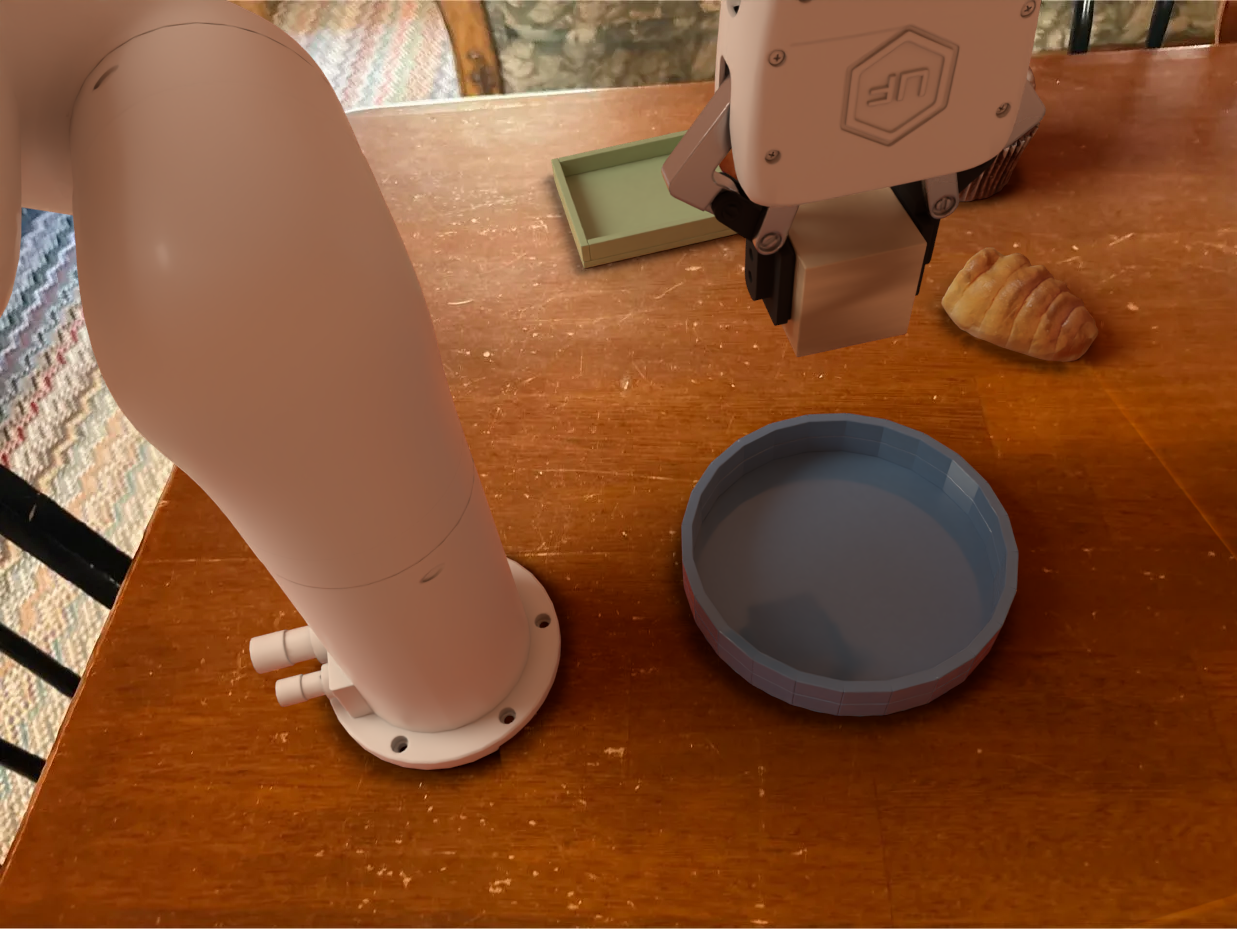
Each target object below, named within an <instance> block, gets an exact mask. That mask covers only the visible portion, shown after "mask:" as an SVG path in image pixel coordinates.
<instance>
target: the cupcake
mask: <svg viewBox="0 0 1237 929" xmlns="http://www.w3.org/2000/svg"><path fill="white" fill-rule="evenodd" d="M1027 79H1028V81H1029V82H1030V84H1031V85H1032V87H1033V88H1034V90H1035V91H1036V87H1037V84H1036V79H1035V75H1034V72H1033V70H1032V68H1031V66H1030V65H1029V69H1028V74H1027ZM1040 125H1041V122H1039V123H1038V124H1036V125H1035V126H1034V127H1033V128H1031V129H1030V130H1029V131H1028V132H1026V133H1025V134H1024V135H1022V136H1021V137H1020V138H1019V139H1017V140H1016V141H1015V142H1014V143H1012V144H1011V145H1010V146H1008V147H1007V148H1006V149H1005V150H1004V149H1002V151H1001V152H1000V153H999V154H998V155H997V158H996V159H995V161H994V162H993V163H992V165H991V166H989V167H988V168H987V169H986V170H985V171H984V172H983V173H982V174H980V175H979V176H978V177H977V178H976V179H975V180H974V181H973V182H972V183H970V184H969V185H968V186H967V187H966V188H965V189H964V190H963V191H961V192H960V193H959V202H972V201H975V200H982V199H988V198H990V197H992V196H994V195H996V194H997V193H999V192H1002V190H1003V188H1004V187H1005V186H1006V185H1008V184H1009V181H1010V179H1011V176H1012V174H1013V171H1014V170H1015V167H1016V166H1017V164H1018V162H1019V160H1020V159H1021V156H1022V154H1023V153H1024V151H1025V150H1026V148H1027V147H1028V146H1029V143H1030V142H1031V141H1032V139H1033V137H1034V136H1035V134H1036V133H1037V131H1038V129H1039V128H1040V127H1039V126H1040Z"/></svg>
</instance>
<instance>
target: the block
mask: <svg viewBox="0 0 1237 929" xmlns="http://www.w3.org/2000/svg"><path fill="white" fill-rule="evenodd" d="M788 238H789V240H790V242H791V244H792V246H793V248H794V250H795V254H796V264H795V275H794V287H793V298H792V309H791V319H790V320H788V323H787V324H782V325H781V327H782V330H783V331H784V333H785V336H786V338H787V340H788V342H789V344H790V346H791V348H792V351H793V352H794V355H795V357H796V358H802V357H805V356H806V357H807V356H810V355H815V354H820V353H825V352H828V351H833V350H838V349H843V348H847V347H853V346H857V345H861V344H862V345H863V344H866V343H870V342H871V343H872V342H875V341H881V340H884V339H889V338H893V337H898V336H903V335H906V334H908V329H909V325H910V321H911V316H912V311H913V307H914V304H915V300H916V296H915V295H916V290H917V286H918V281H919V277H920V272H921V268H922V264H923V259H924V255H925V250H926V246H927V242H926V241H925V239H924V238H923V236H922V235H921V233H920V232H919V230H918V229H917V227H916V226H915V224H914V223H913V221H912V220H911V218H910V217H909V215H908V214H907V212H906V211H905V209H904V208H903V206H902V204H901V203H900V201H899V200H898V198H897V197H896V195H895V194H894V192H893V191H892V189H891V188H890V187H887V188H882V189H877V190H872V191H867V192H862V193H858V194H853V195H848V196H843V197H838V198H833V199H828V200H823V201H818V202H813V203H808V204H802V205H800V206H799V208H798V211H797V213H796V216H795V218H794V221H793V223H792V226H791V228H790V230H789V233H788Z"/></svg>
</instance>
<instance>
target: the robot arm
mask: <svg viewBox="0 0 1237 929" xmlns="http://www.w3.org/2000/svg"><path fill="white" fill-rule="evenodd" d="M1041 4H1042V0H720V7H719V19H718V28H717V29H718V30H717V42H716V56H715V70H714V93H713V95H712V96H711V97H710V99H709V101H708V102H707V103H706V105H705V106H704V107H703V108H702V110H701V111H700V113H698V114H699V115H698V116H697V117H696V118H695V119H694V121H693V122H692V124H691V125H690V127H689V128H688V129H687V130H688V131H687V132H686V133H685V135H684V136H683V138H682V139H681V140H680V142H679V143H678V144H677V146H676V147H675V149H674V150H673V151H672V153H671V154H670V155H669V157H668V158H667V159H666V161H665V162H664V164H663V166H662V168H661V173H662V176H663V178H664V181H665V183H666V185H667V188H668V190H669V193H670V195H671V196H673V197H674V198H676V199H678V200H680V201H682V202H684V203H686V204H688V205H691V206H693V207H695V208H697V209H699V210H701V211H703V212H704V211H707V212H709V213H711V214H713V215H715V218H716V219H717V220H718V221H719V222H720V223H722V224H724V225H725V226H727V227H728V228H730V229H731V230H733V231H735V232H736V233H738V235H739V236H741V237H743V239H745V249H744V250H745V251H744V252H745V253H744V281H745V285H746V289H747V291H748V294H749V296H750V298H751V300H752V301H753V302H756V301H762V303H763V305H764V307H765V309H766V311H767V313H768V315H769V318H770V320H771V322H772V324H773V326H774V327H777V326H782V324H787V323H788V320H790V319H791V309H792V298H793V287H794V275H795V264H796V254H795V250H794V248H793V246H792V244H791V242H790V240H789V238H788V233H789V230H790V228H791V226H792V223H793V221H794V218H795V216H796V213H797V211H798V208H799V206H800V205H802V204H808V203H813V202H818V201H823V200H828V199H833V198H838V197H843V196H848V195H853V194H858V193H862V192H867V191H872V190H877V189H882V188H887V187H890V188H891V189H892V191H893V192H894V194H895V195H896V197H897V198H898V200H899V201H900V203H901V204H902V206H903V208H904V209H905V211H906V212H907V214H908V215H909V217H910V218H911V220H912V221H913V223H914V224H915V226H916V227H917V229H918V230H919V232H920V233H921V235H922V236H923V238H924V239H925V241H926V242H927V246H926V250H925V255H924V259H923V264H922V268H921V272H920V277H919V281H918V286H917V290H916V295H915V297H916V296H919V294H920V291H921V286H922V282H923V278H924V274H925V268H926V265H929V264H930V263H931V261H932V258H933V253H934V249H935V246H936V245H935V244H936V242H937V241H936V240H937V236H938V232H939V228H940V224H941V219H946V218H948V217H949V216H950V215H952V214H953V213H954V212H955V211H956V210H957V209H958V206H959V205H960V201H959V193H960V192H961V191H963V190H964V189H965V188H966V187H967V186H968V185H969V184H970V183H972V182H973V181H974V180H975V179H976V178H977V177H978V176H979V175H980V174H982V173H983V172H984V171H985V170H986V169H987V168H988V167H989V166H991V165H992V163H993V162H994V161H995V159H996V158H997V155H998V154H999V153H1000V152H1001V151H1002V149H1004V150H1005V149H1006V148H1007V147H1008V146H1010V145H1011V144H1012V143H1014V142H1015V141H1016V140H1017V139H1019V138H1020V137H1021V136H1022V135H1024V134H1025V133H1026V132H1028V131H1029V130H1030V129H1031V128H1033V127H1034V126H1035V125H1036V124H1038V123H1041V121H1043V119H1044V117H1045V115H1046V111H1047V109H1046V106H1045V104H1044V102H1043V100H1042V99H1041V98H1040V96H1039V95H1038V93H1037V91H1036V89H1035V90H1034V88H1033V87H1032V85H1031V84H1030V82H1029V81H1028V79H1027V74H1028V69H1029V66H1030V65H1031V64H1030V63H1031V59H1032V54H1033V50H1034V45H1035V40H1036V33H1037V29H1038V28H1037V27H1038V22H1039V16H1040V12H1041ZM730 151H731V152H732V159H733V166H734V170H735V171H734V172H735V175H736V178H735V177H734V176H733V175H731V174H730V173H727V172H725V171H722V172H716V171H715V170H716V168H717V167H718V165H719V166H720V164H721V162H723V160H724V159H725V158H726V157H727V156H728V154H729V153H730ZM22 208H23V209H30V210H36V211H42V212H48V213H54V214H55V213H56V214H62V215H66V216H67V215H68V216H72V220H73V222H72V223H73V231H74V243H75V257H76V258H75V260H76V272H77V282H78V290H79V297H80V302H81V303H80V304H81V308H82V314H83V319H84V323H85V327H86V331H87V335H88V339H89V343H90V347H91V349H92V352H93V356H94V358H95V361H96V364H97V367H98V368H99V369H98V370H99V372H100V374H101V377H102V379H103V381H104V384H105V385H106V387H107V389H108V391H109V393H110V395H111V397H112V399H113V400H114V402H115V404H116V405H117V407H118V408H119V409H120V411H121V412H122V414H123V416H125V418H126V419H127V420H128V421H129V423H130V424H131V425H132V426H133V428H134V429H135V430H136V431H137V432H138V433H139V434H140V435H141V436H142V437H143V438H144V439H145V440H146V441H147V442H148V443H149V444H150V445H151V446H152V447H153V448H155V450H157V451H159V452H160V453H161V454H162V455H163V456H164V457H165V458H167V460H169V461H170V462H171V463H173V464H174V465H175V466H176V467H178V469H180V470H181V472H182V471H183V472H184V473H185V474H186V475H187V476H188V477H189V478H190V479H191V480H192V481H193V482H195V484H197V485H198V487H200V488H201V490H202V491H204V493H205V494H206V495H207V496H208V497H209V498H210V499H211V500H212V501H213V502H214V504H215V505H216V506H217V507H218V508H219V510H220V511H221V512H222V513H223V514H224V516H225V517H226V518H227V519H228V521H230V523H231V524H232V526H233V527H234V529H235V530H236V531H237V532H238V533H239V536H240V537H241V538H242V539H243V540H244V542H245V543H246V544H247V546H248V547H249V549H251V551H252V552H253V554H254V555H255V556H256V558H257V559H258V560H259V561H260V563H262V564H263V566H264V567H265V569H266V570H267V571H268V573H269V574H270V576H271V577H272V578H273V580H274V581H275V582H276V584H277V585H278V586H279V587H280V589H281V590H282V592H283V593H284V594H285V596H286V597H287V598H288V600H289V601H290V603H291V604H292V605H293V607H294V608H295V609H296V611H297V612H298V613H299V615H300V616H301V617H302V619H303V620H304V621H305V623H306V624H307V625H304V626H300V627H295V628H293V629H283V630H277V631H274V632H270V633H266V634H262V635H258V636H254V637H251V638H250V641H249V655H250V660H251V664H252V666H253V667H252V668H253V669H254V670H255V672H256V673H257V674H259V675H262V674H266V673H269V672H273V671H277V670H281V669H285V668H289V667H293V666H294V665H295V664H299V663H301V662H305V661H309V660H313V659H317V661H318V663H319V664H322V665H321V667H320V670H317V671H313V672H309V673H305V674H303V673H300V674H297V675H293V676H288V677H285V678H281V679H278V680H276V682H275V687H274V688H275V697H276V699H277V702H278V704H279V706H280V707H282V708H285V707H289V706H294V705H297V704H301V703H304V702H308V701H309V700H311V699H315V698H318V697H323V696H326V698H327V699H328V700H329V703H330V705H331V707H332V709H333V711H334V714H335V716H336V718H337V720H338V722H339V723H340V724H341V725H342V727H343V728H344V729H345V731H346V732H347V733H348V735H349V736H350V737H351V738H352V739H353V740H354V741H355V742H356V743H357V744H358V745H359V746H360V747H361V748H362V749H364V751H367V752H368V753H370V754H372V755H373V756H375V757H377V758H378V759H380V760H381V761H383V762H386V763H390V764H393V765H396V766H399V767H402V768H407V769H416V770H424V771H429V770H441V769H452V768H455V767H458V766H463V765H467V764H469V763H470V764H471V763H474V762H476V761H478V760H480V759H482V758H484V757H487V756H489V755H490V754H493V753H495V752H497V751H498V750H500V746H502V745H504V744H505V743H507V742H508V741H509V740H511V739H512V738H514V736H516V735H517V734H518V733H519V732H520V731H522V729H523V728H524V727H525V726H526V725H527V724H528V723H529V722H530V721H531V720H532V719H533V718H534V717H535V715H536V714H537V712H538V711H539V709H541V707H542V705H543V704H544V702H545V701H546V699H547V697H548V695H549V693H550V691H551V689H552V687H553V684H554V682H555V680H556V676H557V673H558V668H559V666H560V660H561V651H562V650H561V648H562V634H561V629H560V623H559V619H558V615H557V612H556V609H555V606H554V603H553V601H552V600H551V598H550V596H549V594H548V592H547V590H546V588H545V587H544V586H543V584H542V583H541V582H540V581H539V580H538V579H537V578H536V576H535V575H534V573H532V572H531V571H530V570H528V569H527V568H526V567H524V566H522V565H521V564H520V563H519V562H518V561H515V560H513V559H511V558H510V557H507V554H506V552H505V549H504V546H503V544H502V541H501V537H500V535H499V532H498V528H497V525H496V522H495V520H494V516H493V514H492V511H491V508H490V505H489V502H488V498H487V496H486V493H485V489H484V487H483V484H482V481H481V479H480V475H479V472H478V470H477V467H476V463H475V460H474V458H473V455H472V452H471V449H470V446H469V444H468V441H467V439H466V434H465V432H464V429H463V426H462V422H461V420H460V417H459V414H458V411H457V408H456V405H455V402H454V399H453V396H452V392H451V390H450V386H449V383H448V380H447V376H446V373H445V369H444V368H445V367H444V364H443V361H442V357H441V352H440V348H439V343H438V339H437V334H436V330H435V326H434V323H433V319H432V316H431V312H430V309H429V306H428V303H427V300H426V296H425V295H424V294H425V293H424V292H423V289H422V286H421V283H420V280H419V278H418V275H417V273H416V269H415V268H414V264H413V262H412V260H411V257H410V254H409V252H408V250H407V247H406V244H405V243H404V240H403V238H402V234H401V233H400V231H399V229H398V226H397V224H396V221H395V220H394V217H393V215H392V213H391V210H390V209H389V208H390V207H389V206H388V204H387V202H386V200H385V198H384V195H383V193H382V191H381V188H380V186H379V184H378V181H377V179H376V177H375V174H374V173H373V170H372V167H371V166H370V163H369V161H368V159H367V157H366V156H365V154H364V152H363V150H362V148H361V146H360V144H359V142H358V138H357V137H356V134H355V132H354V130H353V127H352V125H351V123H350V120H349V118H348V116H347V114H346V112H345V110H344V108H343V105H342V103H341V102H340V99H339V97H338V95H337V94H336V92H335V89H334V87H333V86H332V84H331V83H330V81H329V79H328V77H327V76H326V74H325V73H324V72H323V69H322V68H321V67H320V66H319V64H318V63H317V62H316V61H315V59H314V58H313V57H312V56H311V54H310V53H309V52H308V51H307V50H305V48H304V47H303V46H302V45H301V44H300V43H299V42H298V41H297V40H295V39H294V38H293V37H291V35H289V34H288V33H287V32H286V31H285V30H283V29H281V27H279V26H277V25H276V24H274V23H273V22H272V21H270V20H268V19H266V18H264V17H263V16H261V15H259V14H258V13H255V12H253V11H251V10H249V9H247V8H245V7H242V6H240V5H238V4H237V3H235V2H232V1H229V0H0V319H1V318H2V316H3V315H4V313H5V311H6V309H7V307H8V305H9V302H10V299H11V297H12V295H13V291H14V286H15V281H16V276H17V271H18V266H19V263H20V257H21V256H20V255H21V243H22V216H23V214H22V212H23V211H22ZM543 623H547V624H548V625H547V626H546V627H541V624H543ZM509 716H510V717H512V718H513V720H512V722H509V723H506V722H505V719H506V718H507V717H509ZM404 747H406V748H405V749H404V750H403V751H401V750H402V748H404Z"/></svg>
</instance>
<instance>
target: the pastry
mask: <svg viewBox="0 0 1237 929" xmlns="http://www.w3.org/2000/svg"><path fill="white" fill-rule="evenodd" d="M1084 303H1085V302H1084V300H1083V299H1082V298H1081V297H1078V296H1077V295H1075V294H1072V293H1071V291H1070V289H1069V287H1068V284H1067V282H1065V281H1062V280H1059V279H1056V278H1055V276H1054V275H1053V274H1052V273H1051V272H1050V270H1048V269H1047V267H1046V266H1045V265H1043V264H1037V265H1032V263H1031V260H1030V259H1029V258H1028V257H1027V256H1025V255H1024V254H1022V253H1021V252H1015V253H1014V252H1013V253H1011V254H1007V255H1005V254H1003V253H1001V252H1000V251H998V250H997V249H996V248H995V247H993V246H990V247H989V246H987V247H985V248H984V247H983V249H981V250H979V251H978V252H976V253H975V254H974V255H973V256H971V257H970V258H969V259H968V260H967V261H966V263H965V264H964V266H963V268H962V269H961V270H959V271H958V273H957V274H956V276H955V277H954V279H953V280H952V282H951V283H950V285H949V286H948V287H947V290H946V291H945V294H944V296H943V297H942V299H941V306H942V308H943V309H944V312H946V314H947V315H948V317H949V318H950V319H951V320H952V322H953V323H954V324H955V325H956V326H957V327H958V328H959V329H960V330H962V331H963V332H965V333H968V334H969V335H970V336H972V337H974V338H976V339H979V340H983V341H985V342H987V343H989V344H990V343H991V344H993V345H995V346H997V347H999V348H1002V349H1006V350H1010V351H1012V352H1015V353H1019V354H1023V355H1025V356H1029V357H1031V358H1035V359H1039V360H1042V361H1047V362H1048V361H1049V362H1063V363H1065V362H1074V361H1077V360H1078V359H1080V358H1081V357H1082V356H1083V355H1085V354H1086V353H1087V351H1089V349H1090V346H1092V344H1093V342H1094V341H1095V340H1096V338H1097V337H1098V335H1099V328H1098V327H1097V325H1096V319H1095V318H1094V317H1093V316H1092V314H1091V313H1090V311H1088V309H1087V308H1086V307H1085V304H1084Z"/></svg>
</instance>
